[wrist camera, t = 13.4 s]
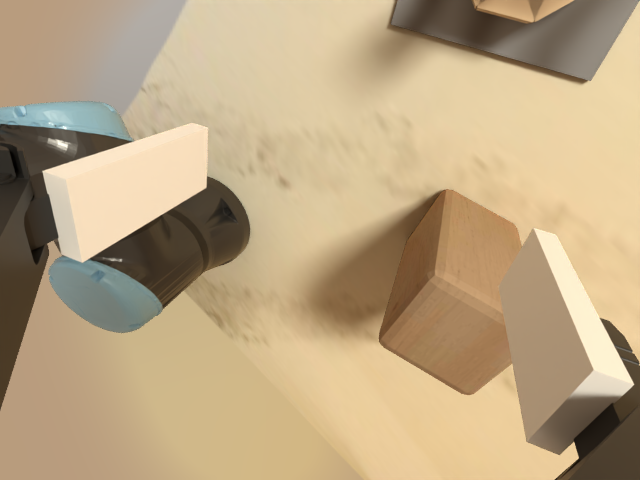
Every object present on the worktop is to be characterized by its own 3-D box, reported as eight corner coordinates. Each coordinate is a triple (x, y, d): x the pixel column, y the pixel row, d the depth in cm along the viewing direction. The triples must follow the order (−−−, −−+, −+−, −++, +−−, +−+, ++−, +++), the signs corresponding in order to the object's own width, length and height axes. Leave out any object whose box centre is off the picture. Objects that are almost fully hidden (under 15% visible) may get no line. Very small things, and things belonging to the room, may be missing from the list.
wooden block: (403, 243, 50) (372, 345, 33) (445, 183, 44) (432, 271, 28) (468, 280, 49) (469, 403, 33) (520, 224, 43) (552, 339, 27)
